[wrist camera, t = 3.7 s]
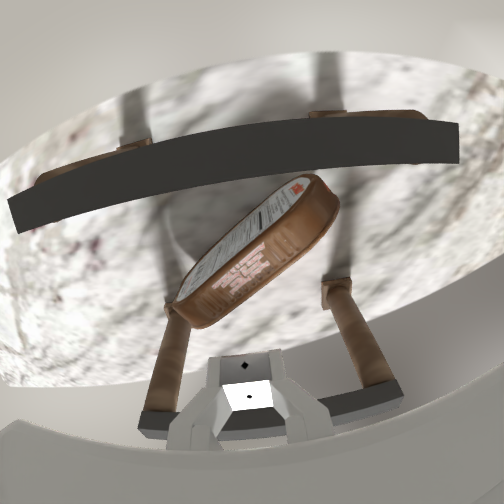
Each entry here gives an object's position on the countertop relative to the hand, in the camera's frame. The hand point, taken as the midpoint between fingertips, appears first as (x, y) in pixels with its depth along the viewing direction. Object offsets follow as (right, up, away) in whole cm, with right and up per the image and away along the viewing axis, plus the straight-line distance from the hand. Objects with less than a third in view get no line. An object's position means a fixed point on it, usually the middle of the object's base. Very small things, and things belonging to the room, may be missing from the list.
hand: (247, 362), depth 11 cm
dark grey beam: (+1, -6, +5) cm, 8 cm away
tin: (0, +7, +13) cm, 15 cm away
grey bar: (-1, +8, -2) cm, 8 cm away
